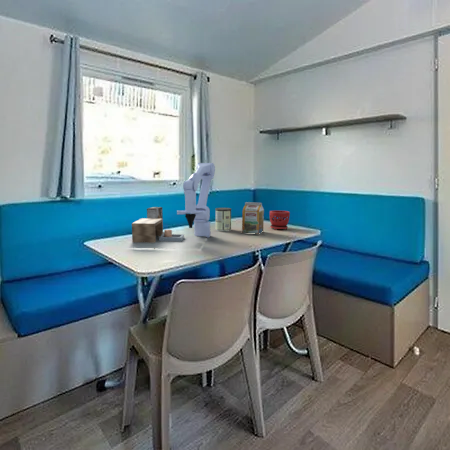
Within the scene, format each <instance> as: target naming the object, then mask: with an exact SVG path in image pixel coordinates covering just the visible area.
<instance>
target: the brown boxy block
mask: <svg viewBox="0 0 450 450" xmlns="http://www.w3.org/2000/svg"><path fill="white" fill-rule="evenodd" d="M163 220H164V218H163V219H154V218H147V217H146V218H145V217H144V218H143V217H142V218H139V219H138V220H135V221H134V222H132V223H131V235H132V238H131V239H132V240H131V242H132V243H151V244H152V243H154V244H155V243H157V240H156V238H157V237H160V236H161V235H162V234H164V223H163V222H164V221H163Z"/></svg>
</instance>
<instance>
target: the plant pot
mask: <svg viewBox="0 0 450 450" xmlns="http://www.w3.org/2000/svg"><path fill="white" fill-rule="evenodd" d="M290 214H291V212H290V211H288V210H269V221H270V222H269V223H270V224H271V225H270V228H271V229H272V228H274V229H273V230H276V229H285V230H287V229H288V228H289V227H288V224H289V221H290V216H291V215H290Z"/></svg>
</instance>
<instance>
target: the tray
mask: <svg viewBox="0 0 450 450" xmlns="http://www.w3.org/2000/svg"><path fill="white" fill-rule="evenodd" d="M184 239H185V234H184V233H172V237H165V236H164V233H163V234H162V235H161V236H158V242H182V241H183V240H184Z"/></svg>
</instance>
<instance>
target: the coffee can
mask: <svg viewBox="0 0 450 450" xmlns="http://www.w3.org/2000/svg"><path fill="white" fill-rule="evenodd" d="M229 230H230V231H232V208H230V207H216V208H215V231H218V232H230V231H229Z"/></svg>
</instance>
